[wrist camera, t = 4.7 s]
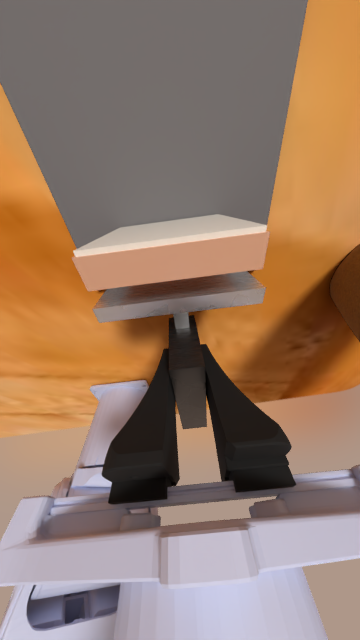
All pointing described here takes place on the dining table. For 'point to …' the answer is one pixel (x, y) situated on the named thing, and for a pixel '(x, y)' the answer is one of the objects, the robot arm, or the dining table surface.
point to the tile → (172, 251)
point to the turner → (182, 325)
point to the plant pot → (348, 290)
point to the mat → (152, 104)
